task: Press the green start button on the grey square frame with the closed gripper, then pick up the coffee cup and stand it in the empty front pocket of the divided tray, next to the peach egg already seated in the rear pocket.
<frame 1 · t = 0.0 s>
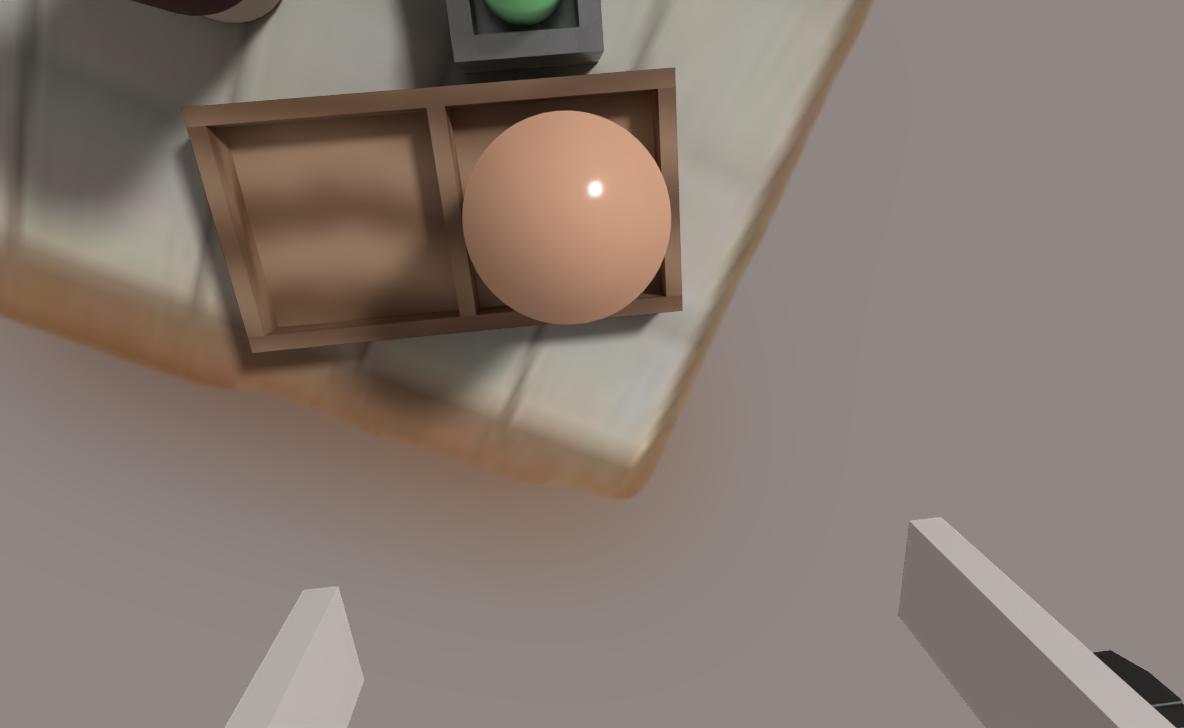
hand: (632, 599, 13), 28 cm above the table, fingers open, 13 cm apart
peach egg: (561, 205, 36), point 1 cm above the table, touching divided tray
divided tray: (460, 213, 37), on the table
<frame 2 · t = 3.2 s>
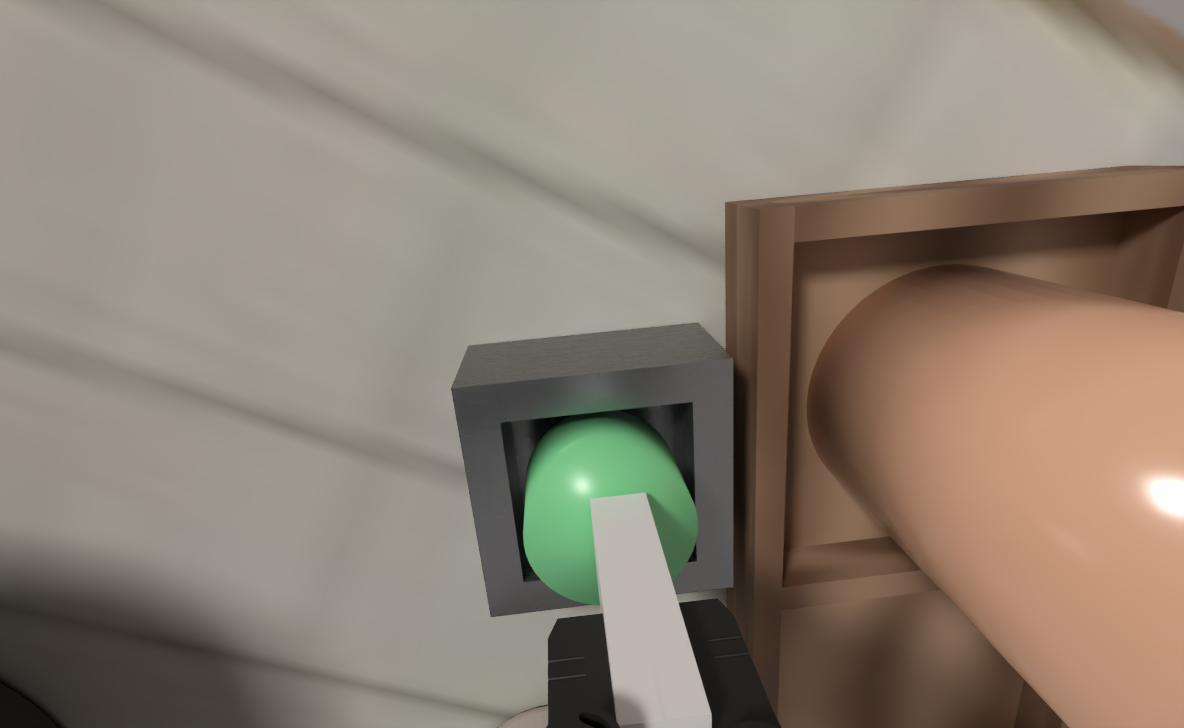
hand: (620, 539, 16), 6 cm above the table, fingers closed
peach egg: (930, 390, 21), point 1 cm above the table, touching divided tray
divided tray: (893, 526, 24), on the table
grey square frame: (593, 437, 21), on the table
start button: (605, 503, 17), point 4 cm above the table, slide at 0.4 cm, touching gripper
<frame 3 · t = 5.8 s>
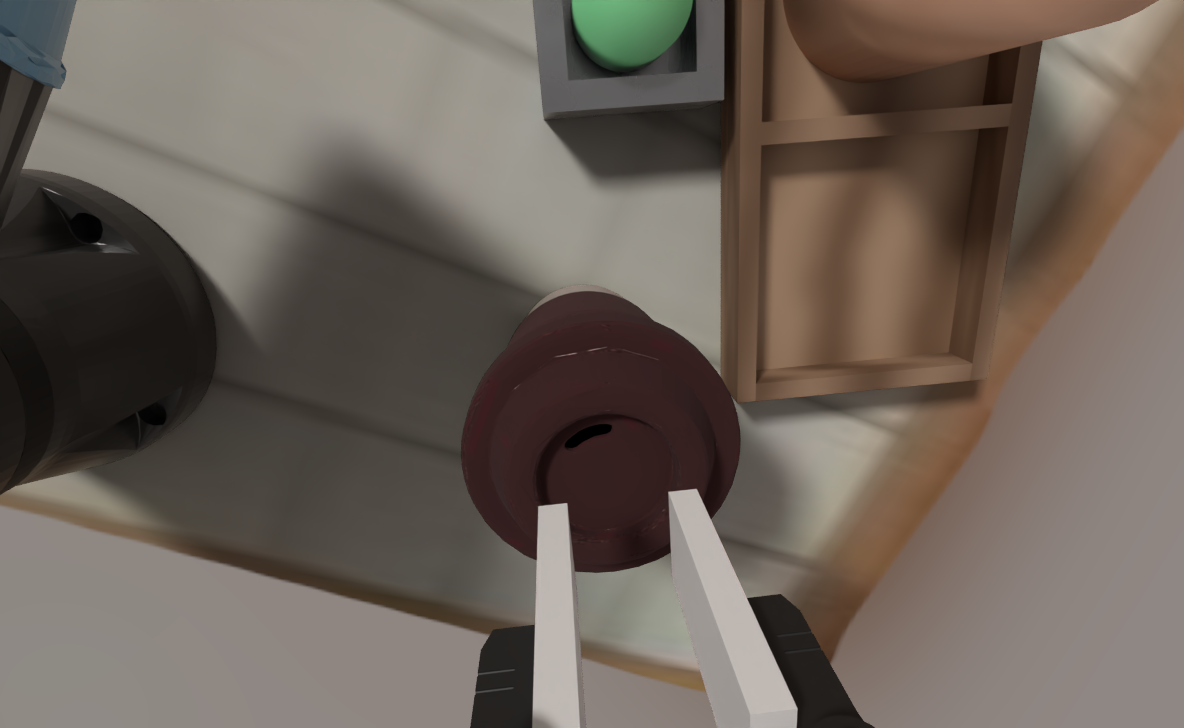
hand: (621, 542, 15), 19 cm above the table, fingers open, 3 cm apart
divided tray: (853, 128, 30), on the table
grey square frame: (618, 23, 28), on the table
coffee cup: (582, 344, 33), on the table
start button: (628, 3, 24), point 4 cm above the table, slide at 1.1 cm
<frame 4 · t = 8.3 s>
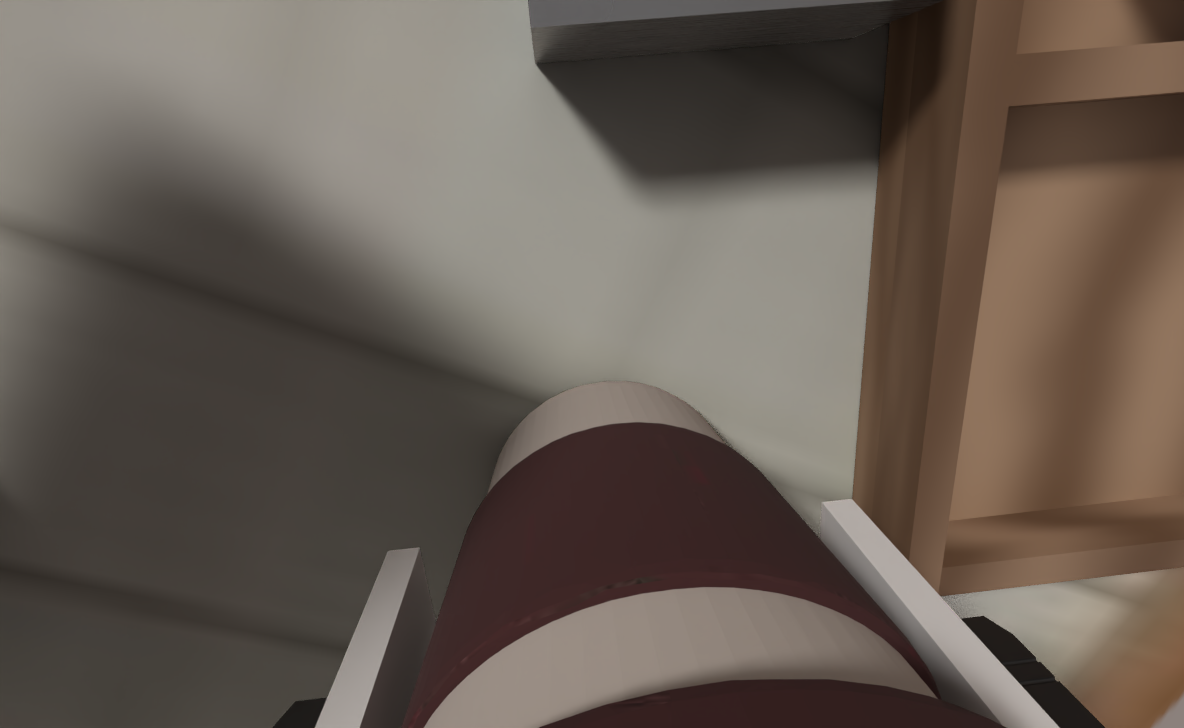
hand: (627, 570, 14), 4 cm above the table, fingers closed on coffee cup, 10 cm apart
divided tray: (1138, 79, 16), on the table
coffee cup: (608, 479, 19), on the table, touching gripper
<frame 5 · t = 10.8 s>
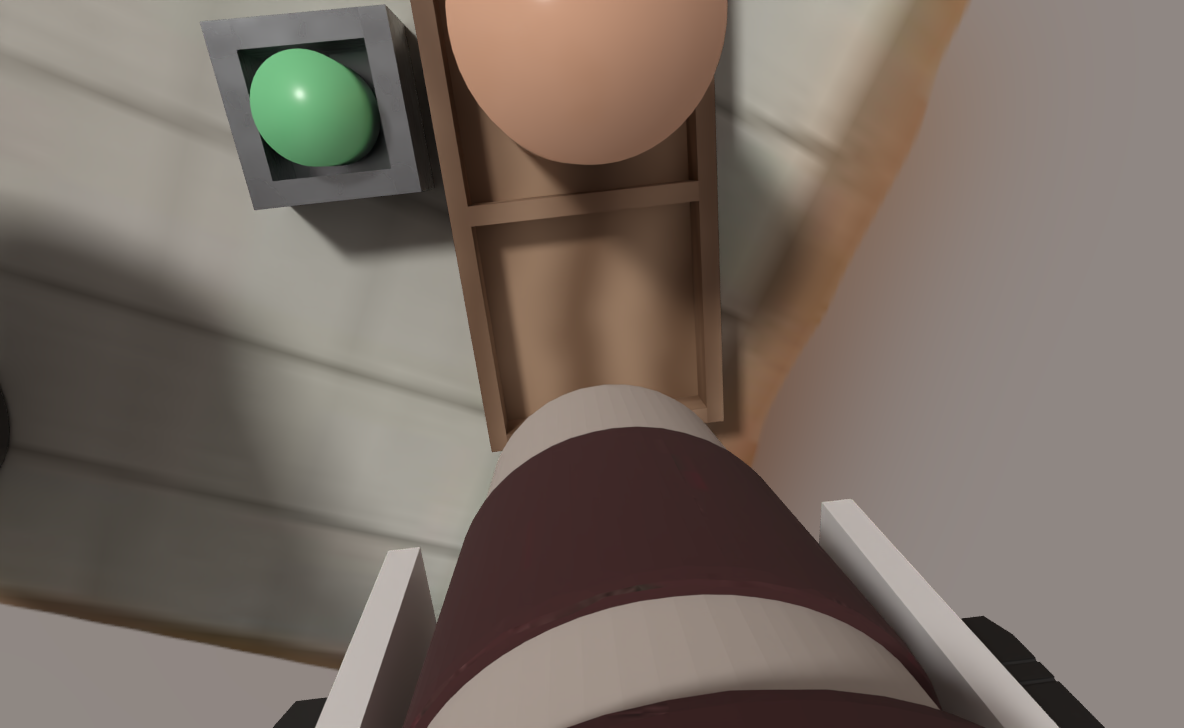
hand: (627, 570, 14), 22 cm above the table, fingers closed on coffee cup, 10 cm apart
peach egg: (568, 70, 30), point 1 cm above the table, touching divided tray
divided tray: (580, 199, 33), on the table
grey square frame: (343, 117, 31), on the table
coffee cup: (608, 482, 19), point 18 cm above the table, touching gripper
start button: (319, 112, 27), point 4 cm above the table, slide at 1.1 cm
when the fingers open (7 cm above the table, at t = 13.3 s): coffee cup drops 1 cm, resting on divided tray.
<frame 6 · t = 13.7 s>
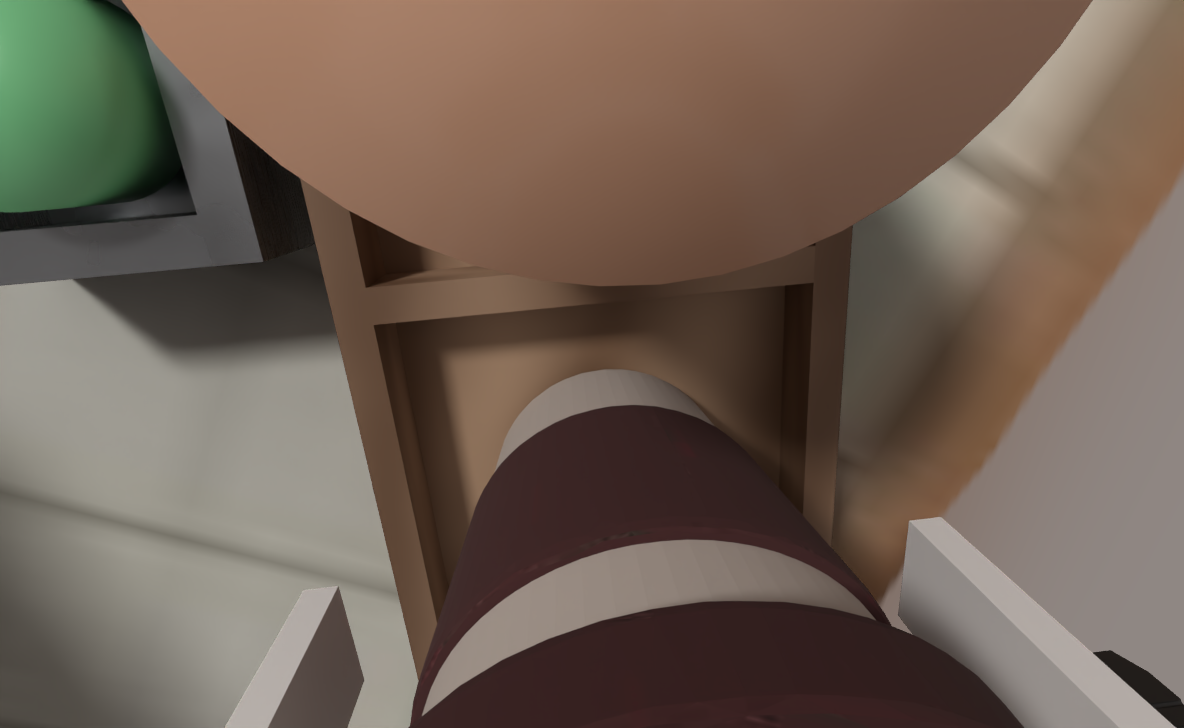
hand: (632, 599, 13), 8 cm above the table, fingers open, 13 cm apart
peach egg: (570, 27, 15), point 1 cm above the table, touching divided tray
divided tray: (587, 265, 19), on the table
grey square frame: (145, 109, 16), on the table
coffee cup: (607, 462, 20), point 1 cm above the table, touching divided tray
start button: (36, 94, 13), point 4 cm above the table, slide at 1.1 cm
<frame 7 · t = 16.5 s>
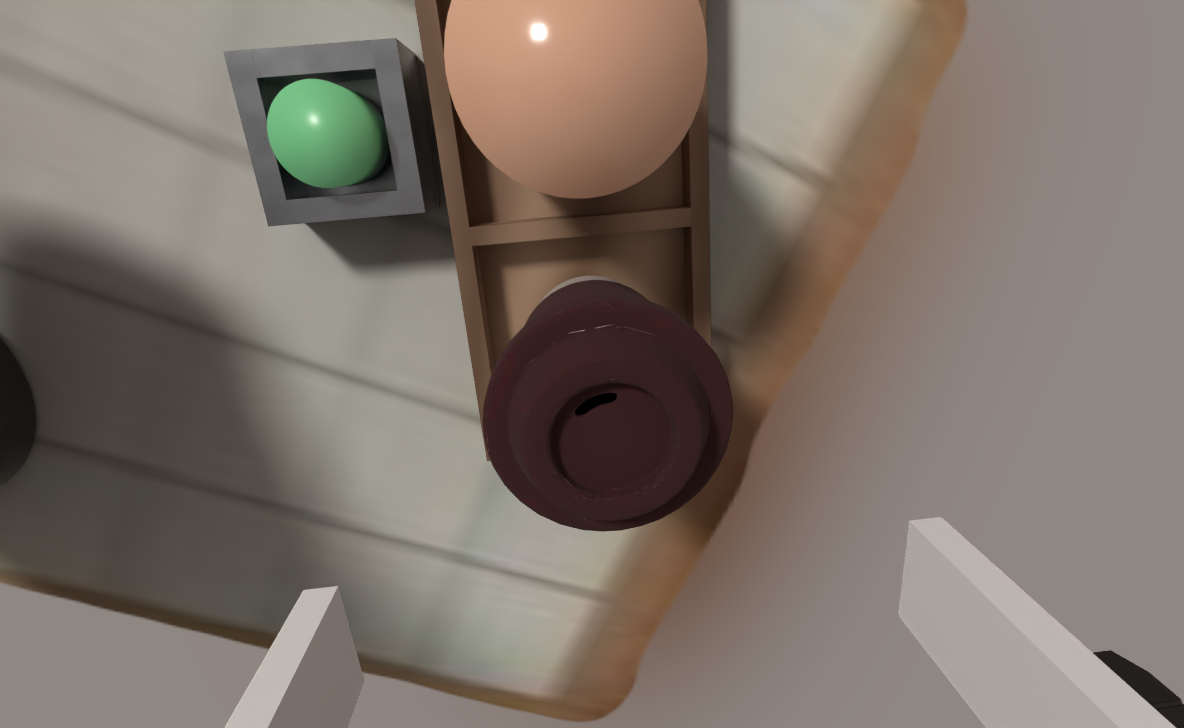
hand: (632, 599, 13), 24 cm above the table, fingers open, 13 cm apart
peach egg: (569, 100, 31), point 1 cm above the table, touching divided tray
divided tray: (579, 221, 34), on the table
grey square frame: (355, 139, 32), on the table
coffee cup: (590, 332, 36), point 1 cm above the table, touching divided tray
start button: (331, 136, 29), point 4 cm above the table, slide at 1.1 cm
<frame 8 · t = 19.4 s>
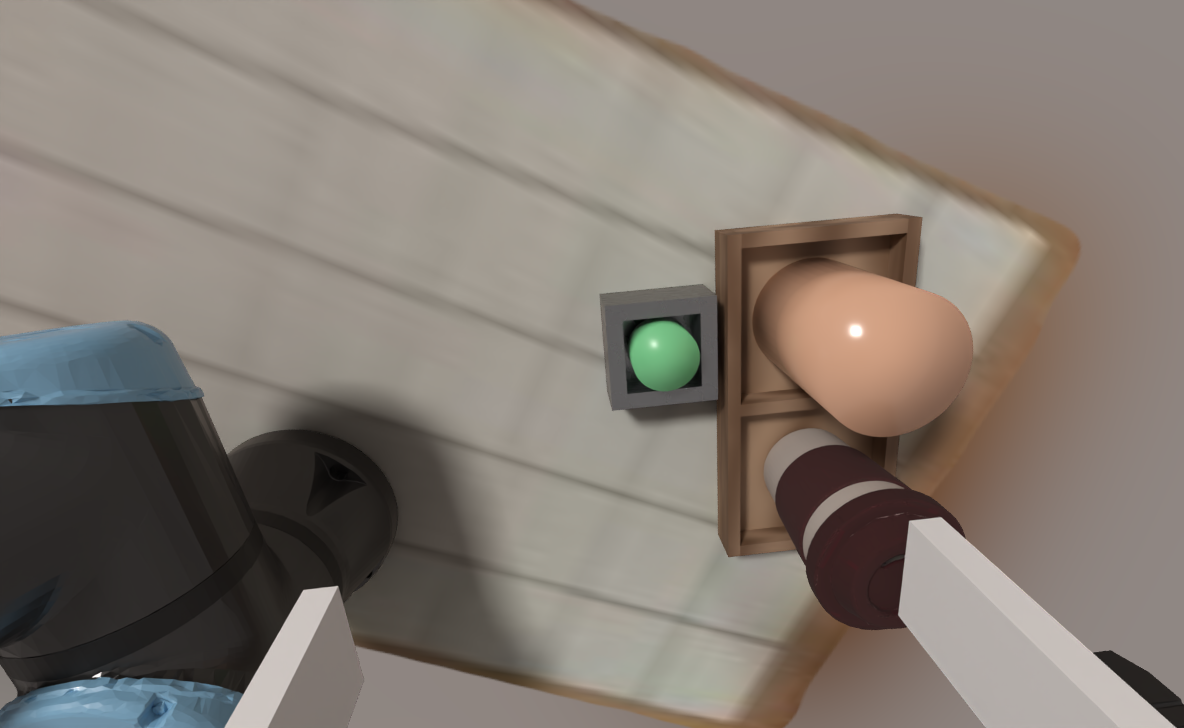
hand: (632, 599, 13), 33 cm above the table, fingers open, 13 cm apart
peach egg: (809, 315, 45), point 1 cm above the table, touching divided tray
divided tray: (799, 387, 48), on the table
grey square frame: (653, 338, 46), on the table
coffee cup: (802, 463, 49), point 1 cm above the table, touching divided tray
start button: (662, 353, 42), point 4 cm above the table, slide at 1.1 cm
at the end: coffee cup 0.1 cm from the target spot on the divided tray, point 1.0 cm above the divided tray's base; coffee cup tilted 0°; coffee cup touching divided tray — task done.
